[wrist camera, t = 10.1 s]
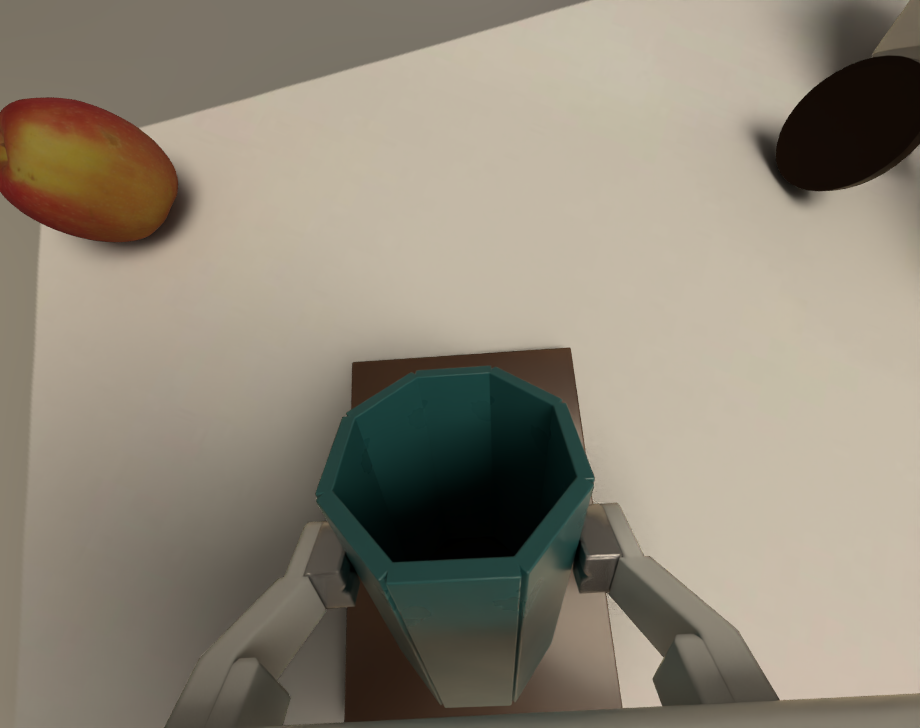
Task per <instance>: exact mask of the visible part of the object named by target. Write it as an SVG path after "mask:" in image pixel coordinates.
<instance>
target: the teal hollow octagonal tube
mask: <svg viewBox="0 0 920 728" xmlns="http://www.w3.org/2000/svg"><path fill="white" fill-rule="evenodd" d="M346 415H347V416H345V417H342V420H341V423H340V425H339V428H338V431H337V434H336V437H335V439H334V442H333V445H332V448H331V451H330V453H329V456H328V459H327V462H326V465H325V467H324V470H323V473H322V476H321V479H320V482H319V484H318V487H317V490H316V493H315V495H316V497H317V499H316V502H317V504H318V506H319V507H320V509H321V511H322V513H323V514H324V516H325V518H326V520H327V521H328V523H329V525H330V527H331V528H332V530H333V532H334V534H335V535H336V537H337V539H338V541H339V542H340V544H341V546H342V548H343V549H344V551H345V553H346V555H347V556H348V558H349V560H350V562H351V563H352V565H353V567H354V569H355V570H356V572H357V574H358V576H359V577H360V579H361V581H362V583H363V584H364V586H365V588H366V590H367V591H368V593H369V595H370V597H371V598H372V600H373V602H374V604H375V605H376V607H377V609H378V611H379V612H380V614H381V616H382V618H383V620H384V621H385V623H386V625H387V627H388V628H389V630H390V632H391V634H392V635H393V637H394V639H395V641H396V642H397V644H398V646H399V648H400V649H401V651H402V652H403V653H404V655H405V656H406V658H407V659H408V660H409V662H410V663H411V665H412V666H413V667H414V669H415V670H416V672H417V673H418V674H419V676H420V677H421V679H422V680H423V681H424V683H425V684H426V686H427V687H428V688H429V690H430V691H431V693H432V694H433V695H434V697H435V698H436V700H437V701H438V702H439V704H440V705H442V704H443V705H444V707H445V708H455V707H483V706H510V705H511V704H512V700H513V701H514V702H516V701H517V699H518V698H519V696H520V694H521V693H522V691H523V689H524V688H525V686H526V684H527V683H528V681H529V679H530V678H531V676H532V675H533V673H534V671H535V670H536V668H537V666H538V665H539V663H540V661H541V660H542V658H543V656H544V655H545V653H546V651H547V650H548V648H549V646H550V645H551V643H552V639H553V636H554V632H555V628H556V625H557V621H558V617H559V613H560V610H561V606H562V602H563V599H564V595H565V591H566V587H567V584H568V580H569V576H570V573H571V569H572V565H573V561H574V558H575V554H576V550H577V547H578V543H579V539H580V535H581V532H582V528H583V524H584V521H585V517H586V513H587V509H588V506H589V502H590V498H591V495H592V491H593V487H594V484H593V483H594V479H595V477H594V475H593V472H592V469H591V467H590V464H589V462H588V459H587V456H586V454H585V451H584V448H583V446H582V443H581V440H580V438H579V435H578V433H577V430H576V427H575V425H574V422H573V419H572V417H571V414H570V411H569V409H568V406H567V404H566V403H562V399H561V398H559V397H557V396H555V395H553V394H551V393H549V392H547V391H545V390H543V389H541V388H539V387H537V386H534V385H532V384H530V383H528V382H526V381H524V380H522V379H520V378H518V377H516V376H514V375H512V374H510V373H508V372H506V371H504V370H502V369H500V368H498V367H494V368H491V366H476V367H461V368H446V369H431V370H417V371H416V373H415V374H414V373H412V372H411V373H409V374H407V375H406V376H404V377H403V378H401V379H399V380H398V381H396V382H395V383H393V384H391V385H390V386H388V387H387V388H385V389H383V390H382V391H380V392H379V393H377V394H375V395H374V396H372V397H371V398H369V399H367V400H366V401H364V402H363V403H361V404H360V405H358V406H356V407H355V408H353V409H352V410H350V411H348V412H347V413H346Z"/></svg>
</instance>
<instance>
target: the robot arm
mask: <svg viewBox="0 0 920 728" xmlns="http://www.w3.org/2000/svg"><path fill="white" fill-rule="evenodd" d="M572 570H573V574H574V577H575V580H576V584H577V587H578V591H579V593H609V595H610V596H611V597H612V599H613V600H614V601H615V602H616V603H617V604H618V605H619V607H620V608H621V609H622V610H623V611H624V612H625V614H626V615H627V616H628V617H629V618H630V619H631V620H632V622H633V623H634V624H635V625H636V626H637V627H638V629H639V630H640V631H641V632H642V633H643V634H644V635H645V637H646V638H647V639H648V640H649V641H650V642H651V643H652V645H653V646H654V647H655V648H656V649H657V650H658V652H659V653H660V654H661V655H662V656H663V657H664V658H663V660H662V662H661V664H660V665H659V667H658V669H657V671H656V673H655V675H654V677H653V682H654V685H655V687H656V690H657V693H658V696H659V698H660V701H661V704H662V706H659V707H639V708H619V709H600V710H580V711H560V712H540V713H520V714H500V715H481V716H461V717H441V718H421V719H401V720H381V721H362V722H342V723H322V724H302V725H283V723H284V720H285V716H286V713H287V709H288V706H289V702H290V699H291V698H290V696H289V693H288V692H287V691H286V690H285V689H284V687H283V686H282V685H281V684H280V683H279V682H278V681H277V680H278V678H279V677H280V676H281V674H282V673H283V671H284V670H285V669H286V667H287V666H288V664H289V663H290V662H291V660H292V659H293V657H294V656H295V655H296V653H297V652H298V650H299V649H300V648H301V646H302V645H303V643H304V642H305V641H306V639H307V638H308V636H309V635H310V634H311V632H312V631H313V629H314V628H315V627H316V625H317V624H318V622H319V621H320V620H321V618H322V617H323V615H324V614H325V613H326V611H327V610H326V609H331V608H343V607H354V606H355V604H356V600H357V595H358V591H359V586H360V580H359V578H358V575H357V572H356V570H355V569H354V567H353V565H352V563H351V562H350V560H349V558H348V556H347V555H346V553H345V551H344V549H343V548H342V546H341V544H340V542H339V541H338V539H337V537H336V535H335V534H334V532H333V530H332V528H331V527H330V525H329V523H328V521H321V522H308V523H307V524H306V526H305V527H304V528H303V531H302V533H301V536H300V538H299V541H298V543H297V546H296V548H295V551H294V553H293V556H292V558H291V561H290V563H289V566H288V568H287V571H286V573H285V576H284V578H278V579H277V580H276V582H275V583H274V584H273V585H272V586H271V587H270V588H269V589H268V590H267V591H266V592H265V593H264V594H263V595H262V596H261V597H260V598H259V599H258V600H257V601H256V602H255V603H254V604H253V605H252V606H251V607H250V608H249V609H248V610H247V611H246V612H245V613H244V614H243V615H242V616H241V617H240V618H239V619H238V620H237V621H236V622H235V623H234V624H233V625H232V626H231V627H230V628H229V629H228V630H227V631H226V632H225V633H224V634H223V635H222V636H221V637H220V638H219V639H218V640H217V641H216V642H215V643H214V644H213V645H212V646H211V647H210V648H209V649H208V650H207V651H206V652H205V653H204V654H203V655H202V656H201V657H200V658H199V660H198V662H197V664H196V666H195V667H194V669H193V671H192V673H191V675H190V677H189V679H188V681H187V683H186V685H185V687H184V689H183V691H182V693H181V695H180V697H179V699H178V701H177V703H176V705H175V707H174V709H173V711H172V713H171V715H170V717H169V719H168V721H167V723H166V725H165V727H164V728H920V693H917V694H897V695H877V696H857V697H837V698H818V699H798V700H779V698H778V696H777V695H776V693H775V691H774V690H773V688H772V686H771V685H770V683H769V681H768V680H767V678H766V676H765V675H764V673H763V671H762V670H761V668H760V666H759V665H758V663H757V661H756V660H755V658H754V656H753V655H752V653H751V651H750V650H749V648H748V646H747V644H746V643H745V641H744V639H743V638H742V636H741V634H740V633H739V631H738V630H737V629H736V628H735V627H734V626H733V625H731V624H730V623H729V622H728V621H727V620H725V619H724V618H723V617H722V616H721V615H719V614H718V613H717V612H716V611H715V610H713V609H712V608H711V607H710V606H709V605H708V604H706V603H705V602H704V601H703V600H702V599H700V598H699V597H698V596H697V595H696V594H694V593H693V592H692V591H691V590H690V589H688V588H687V587H686V586H685V585H684V584H682V583H681V582H680V581H679V580H678V579H677V578H675V577H674V576H673V575H672V574H671V573H669V572H668V571H667V570H666V569H665V568H663V567H662V566H661V565H660V564H659V563H657V562H656V561H655V560H654V559H653V558H651V557H650V556H644V554H643V552H642V550H641V548H640V546H639V544H638V542H637V540H636V538H635V536H634V533H633V531H632V529H631V527H630V525H629V523H628V521H627V519H626V517H625V515H624V513H623V511H622V509H621V507H620V505H619V504H618V503H605V504H599V503H598V504H589V506H588V509H587V513H586V517H585V521H584V524H583V528H582V532H581V535H580V539H579V543H578V547H577V550H576V554H575V558H574V562H573V569H572Z"/></svg>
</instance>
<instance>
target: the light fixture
mask: <svg viewBox="0 0 920 728" xmlns="http://www.w3.org/2000/svg"><path fill="white" fill-rule="evenodd" d="M872 56H873V58H869V59H865V60H862V61H859V62H856V63H854V64H851V65H849V66H847V67H845V68H843V69H841V70H839V71H837V72H835V73H834V74H832V75H831V76H829V77H828V78H826V79H825V80H823V81H822V82H821V83H819V84H818V85H817V86H816V87H814V88H813V89H812V90H811V91H810V92H809V93H808V94H807V95H806V96H805V97H804V98H803V99H802V100H801V101H800V102H799V103H798V104H797V106H796V107H795V108H794V110H793V111H792V112H791V114H790V115H789V117H788V118H787V120H786V122H785V124H784V125H783V128H782V130H781V132H780V135H779V138H778V141H777V146H776V162H777V166H778V169H779V171H780V173H781V175H782V176H783V177H784V178H785V180H787V181H788V182H789V183H790V184H792V185H794V186H796V187H798V188H801V189H805V190H810V191H833V190H840V189H846V188H850V187H853V186H857V185H860V184H862V183H865V182H867V181H870V180H872V179H874V178H876V177H878V176H880V175H882V174H884V173H885V172H887V171H888V170H890V169H891V168H893V167H894V166H896V165H897V164H898V163H900V162H901V161H902V160H903V159H905V158H906V157H907V156H908V155H909V154H910V153H911V152H912V151H913V150H914V149H915V148H916V147H917V146H918V145H919V144H920V0H910V1H909V2H908V4H907V5H906V7H905V8H904V10H903V11H902V12H901V14H900V15H899V17H898V18H897V19H896V21H895V22H894V24H893V25H892V27H891V28H890V29H889V31H888V32H887V34H886V35H885V36H884V38H883V39H882V40H881V42H880V43H879V45H878V46H877V48H876V49H875V51H874V52H873V54H872Z"/></svg>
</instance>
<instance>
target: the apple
mask: <svg viewBox="0 0 920 728" xmlns="http://www.w3.org/2000/svg"><path fill="white" fill-rule="evenodd" d="M177 190H178V178H177V174H176V171H175V168H174V166H173V164H172V162H171V161H170V159H169V158H168V156H167V155H166V154H165V153H164V151H163V150H162V149H161V148H160V147H159V146H158V145H157V144H156V142H155V141H154V140H152V139H151V138H150V137H149V136H148V135H147V134H145V133H144V132H143V131H141V130H140V129H139V128H137V127H136V126H134V125H133V124H131V123H130V122H128V121H126V120H124V119H122V118H121V117H119V116H117V115H115V114H113V113H111V112H108V111H107V110H104V109H102V108H99V107H97V106H94V105H91V104H87V103H85V102H81V101H77V100H72V99H63V98H30V99H22V100H18V101H15V102H12V103H10V104H8V105H7V106H6V107H4V108H3V110H1V112H0V192H1V193H2V195H3V196H4V197H5V198H6V199H7V200H8V201H9V202H10V203H11V204H12V205H14V206H15V207H16V208H17V209H19V210H20V211H21V212H23V213H24V214H26V215H27V216H29V217H31V218H32V219H34V220H36V221H38V222H40V223H42V224H44V225H46V226H48V227H50V228H52V229H55V230H57V231H60V232H63V233H66V234H69V235H73V236H76V237H81V238H85V239H90V240H96V241H105V242H128V241H134V240H139V239H143V238H145V237H148V236H149V235H151V234H152V233H153V232H155V231H156V229H157V228H159V227H160V226H161V224H162V223H163V222H164V221H165V219H166V217H167V215H168V213H169V211H170V208H171V206H172V204H173V202H174V200H175V198H176V195H177Z"/></svg>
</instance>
